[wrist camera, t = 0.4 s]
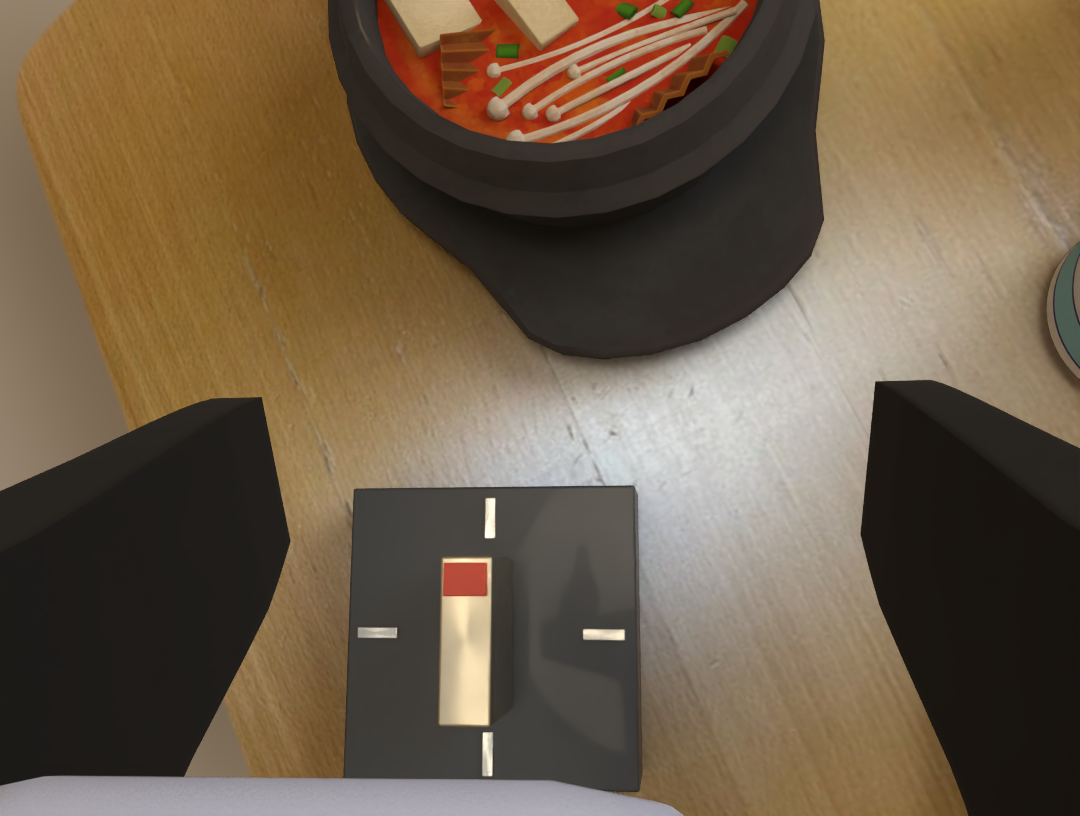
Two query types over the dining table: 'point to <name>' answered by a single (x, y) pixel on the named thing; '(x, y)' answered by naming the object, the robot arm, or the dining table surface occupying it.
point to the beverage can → (1066, 309)
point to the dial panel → (537, 634)
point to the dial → (475, 640)
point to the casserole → (597, 153)
